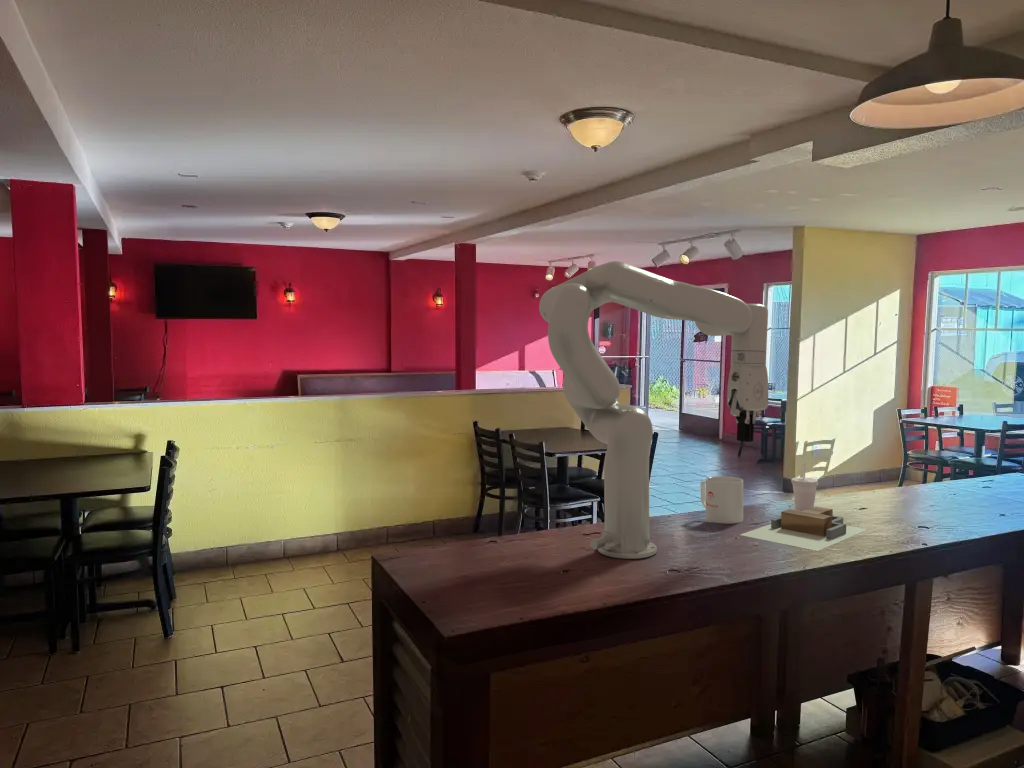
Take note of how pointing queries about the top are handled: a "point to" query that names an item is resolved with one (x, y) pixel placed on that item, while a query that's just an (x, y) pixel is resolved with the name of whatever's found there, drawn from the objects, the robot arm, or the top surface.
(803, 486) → the smoothie
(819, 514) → the t block
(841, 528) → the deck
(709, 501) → the mug
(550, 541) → the top surface
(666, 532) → the top surface
